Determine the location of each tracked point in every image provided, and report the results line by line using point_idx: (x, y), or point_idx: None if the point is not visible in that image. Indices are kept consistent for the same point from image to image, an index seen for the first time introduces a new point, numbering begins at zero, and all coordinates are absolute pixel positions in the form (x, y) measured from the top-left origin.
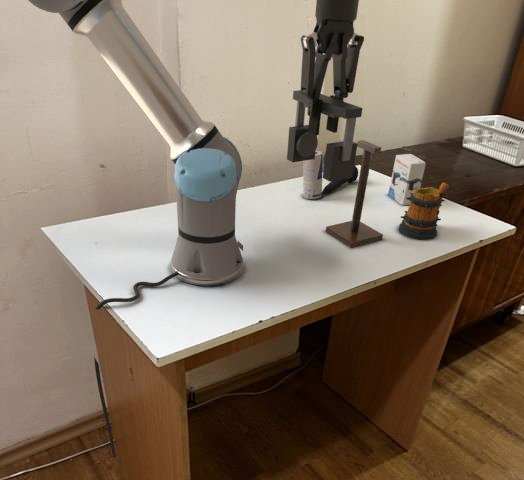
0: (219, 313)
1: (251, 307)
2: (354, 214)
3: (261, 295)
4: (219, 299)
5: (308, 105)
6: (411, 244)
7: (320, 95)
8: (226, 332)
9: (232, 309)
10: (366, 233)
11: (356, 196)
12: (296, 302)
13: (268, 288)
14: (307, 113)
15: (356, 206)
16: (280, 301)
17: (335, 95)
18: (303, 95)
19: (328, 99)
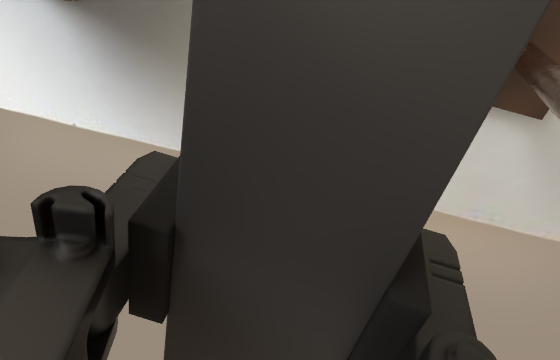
0: (21, 65)
1: (78, 90)
2: (519, 63)
3: (112, 76)
4: (36, 31)
5: (108, 195)
6: (555, 175)
7: (356, 197)
8: (15, 110)
9: (46, 72)
10: (517, 85)
11: (542, 79)
12: (154, 133)
13: (137, 69)
14: (142, 156)
15: (528, 75)
16: (132, 113)
17: (412, 344)
18: (195, 16)
19: (269, 319)
